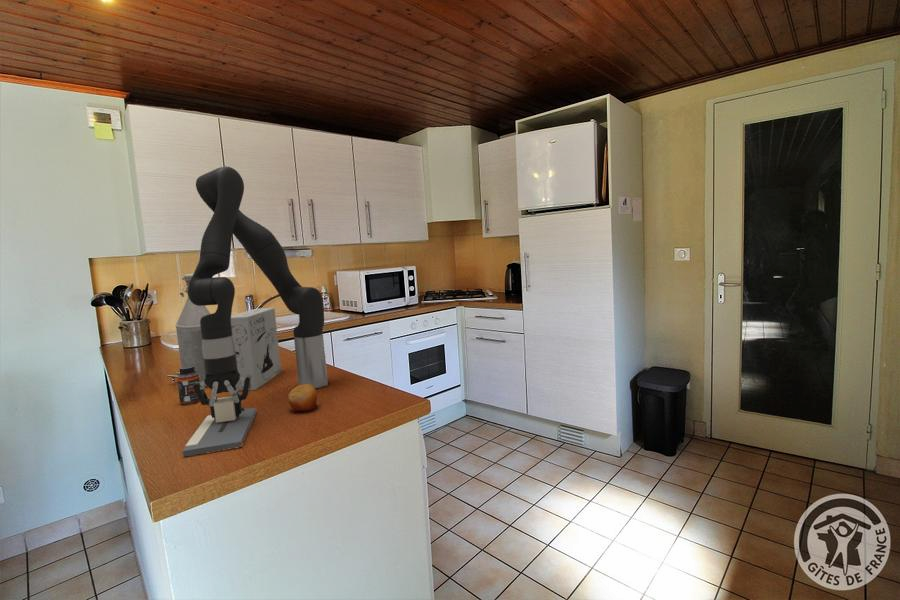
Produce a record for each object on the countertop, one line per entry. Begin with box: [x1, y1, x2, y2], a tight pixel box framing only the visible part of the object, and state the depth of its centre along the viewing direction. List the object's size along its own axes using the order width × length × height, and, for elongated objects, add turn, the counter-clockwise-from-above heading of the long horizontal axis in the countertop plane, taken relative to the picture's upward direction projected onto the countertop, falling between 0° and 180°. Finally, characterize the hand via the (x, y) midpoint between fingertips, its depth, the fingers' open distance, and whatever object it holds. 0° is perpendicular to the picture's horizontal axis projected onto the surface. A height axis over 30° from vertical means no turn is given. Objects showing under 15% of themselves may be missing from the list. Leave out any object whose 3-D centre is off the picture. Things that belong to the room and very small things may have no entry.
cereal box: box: [231, 307, 282, 392], centre depth 156 cm, size 22×8×25 cm, turn 179°
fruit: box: [287, 384, 318, 412], centre depth 126 cm, size 8×8×8 cm
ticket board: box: [182, 406, 258, 458], centre depth 112 cm, size 12×24×2 cm, turn 16°
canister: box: [175, 273, 211, 388], centre depth 158 cm, size 13×17×40 cm
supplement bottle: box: [176, 366, 200, 405], centre depth 138 cm, size 6×6×11 cm
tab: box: [214, 395, 236, 423], centre depth 116 cm, size 4×5×5 cm
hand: (227, 416), depth 117 cm, fingers closed on tab, 4 cm apart
